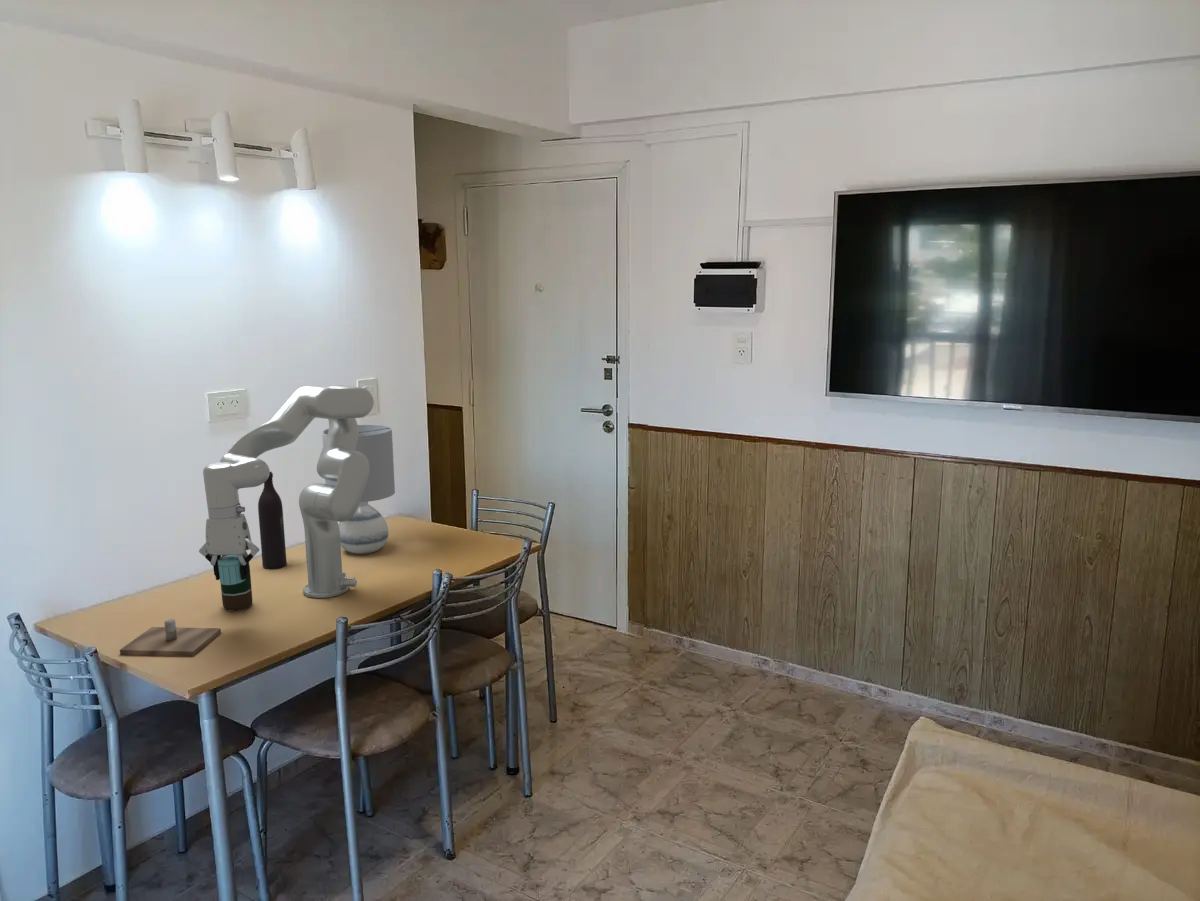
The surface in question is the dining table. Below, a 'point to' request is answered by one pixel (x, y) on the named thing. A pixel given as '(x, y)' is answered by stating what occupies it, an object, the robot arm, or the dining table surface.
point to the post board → (171, 641)
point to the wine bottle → (271, 527)
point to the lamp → (370, 491)
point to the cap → (229, 570)
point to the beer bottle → (237, 595)
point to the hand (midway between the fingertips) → (232, 577)
